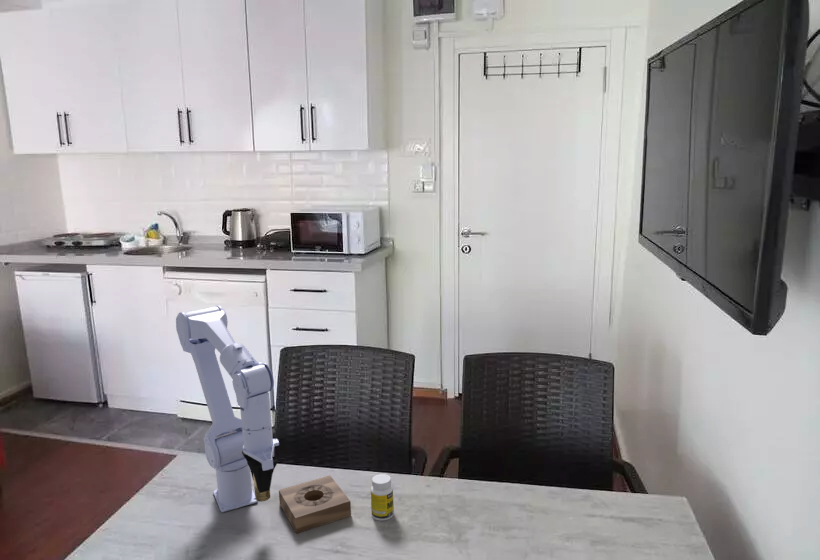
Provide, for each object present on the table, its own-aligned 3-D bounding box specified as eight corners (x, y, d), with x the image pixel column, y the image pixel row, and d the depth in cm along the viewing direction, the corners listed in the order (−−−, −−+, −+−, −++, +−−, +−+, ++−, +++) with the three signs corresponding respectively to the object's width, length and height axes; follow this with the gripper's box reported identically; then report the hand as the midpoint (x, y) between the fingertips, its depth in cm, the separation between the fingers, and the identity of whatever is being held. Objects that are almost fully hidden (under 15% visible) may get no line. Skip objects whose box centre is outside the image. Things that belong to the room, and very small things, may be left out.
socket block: (279, 504, 132) (278, 490, 132) (331, 489, 138) (330, 475, 137) (296, 533, 122) (295, 518, 121) (351, 515, 128) (350, 500, 127)
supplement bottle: (391, 522, 125) (389, 485, 123) (369, 520, 126) (367, 483, 124) (396, 509, 129) (394, 473, 128) (374, 507, 130) (373, 471, 129)
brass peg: (253, 495, 123) (250, 460, 122) (268, 491, 125) (265, 456, 123) (257, 503, 121) (254, 466, 119) (272, 498, 122) (269, 462, 120)
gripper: (286, 434, 115) (291, 498, 118) (267, 407, 128) (272, 465, 130) (249, 443, 112) (255, 508, 115) (233, 414, 124) (239, 474, 127)
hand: (262, 486), depth 122 cm, fingers closed on brass peg, 3 cm apart
